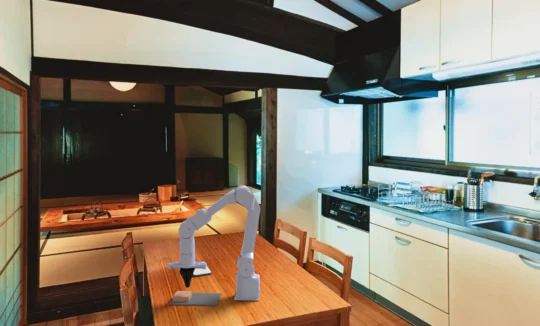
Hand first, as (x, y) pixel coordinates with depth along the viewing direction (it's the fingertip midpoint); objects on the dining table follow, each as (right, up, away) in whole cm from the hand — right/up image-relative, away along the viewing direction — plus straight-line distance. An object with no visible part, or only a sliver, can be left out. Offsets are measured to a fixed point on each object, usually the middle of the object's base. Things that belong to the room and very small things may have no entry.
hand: (187, 286), depth 140 cm
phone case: (-2, -4, +32) cm, 32 cm away
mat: (+3, -5, +1) cm, 6 cm away
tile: (+1, -4, 0) cm, 4 cm away
